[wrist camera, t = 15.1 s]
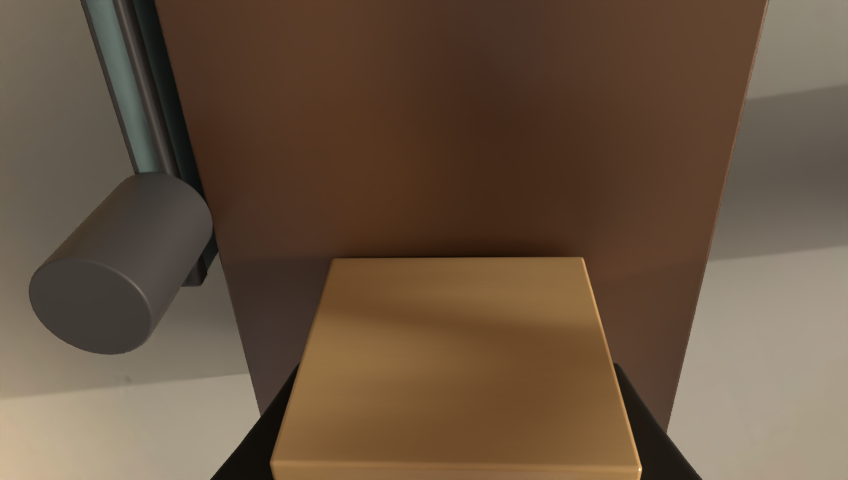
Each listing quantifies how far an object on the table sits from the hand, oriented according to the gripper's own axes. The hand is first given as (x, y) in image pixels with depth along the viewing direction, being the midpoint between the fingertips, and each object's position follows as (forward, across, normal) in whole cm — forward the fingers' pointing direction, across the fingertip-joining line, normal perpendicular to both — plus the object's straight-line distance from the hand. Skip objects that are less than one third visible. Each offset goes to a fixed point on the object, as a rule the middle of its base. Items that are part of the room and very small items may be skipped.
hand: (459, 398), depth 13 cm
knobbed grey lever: (+8, +6, -5) cm, 11 cm away
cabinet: (+9, 0, -2) cm, 9 cm away
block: (+1, 0, 0) cm, 1 cm away
